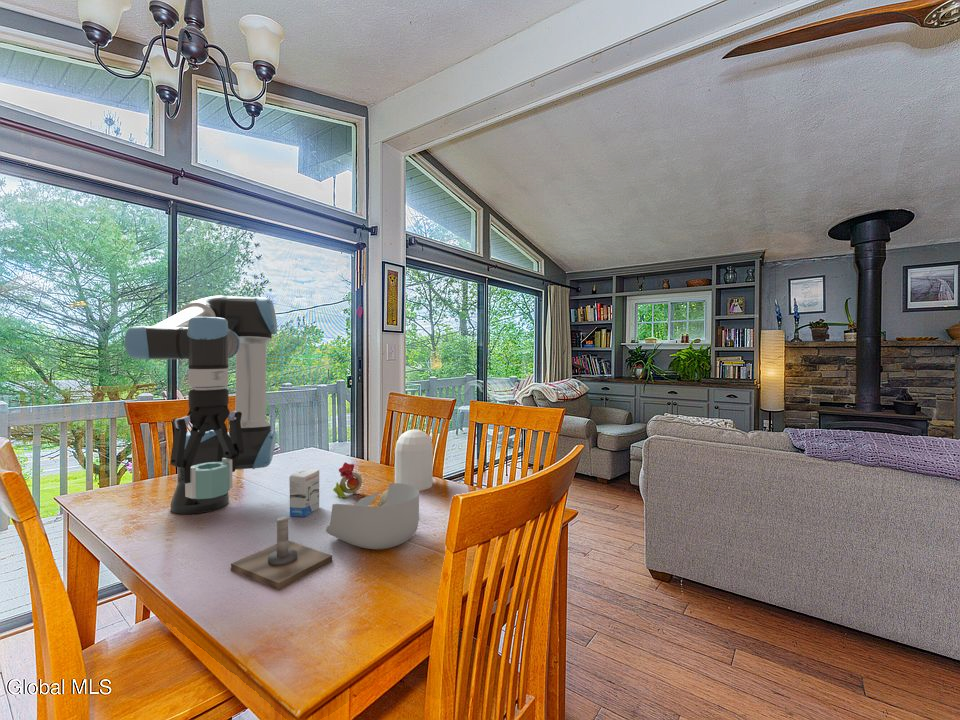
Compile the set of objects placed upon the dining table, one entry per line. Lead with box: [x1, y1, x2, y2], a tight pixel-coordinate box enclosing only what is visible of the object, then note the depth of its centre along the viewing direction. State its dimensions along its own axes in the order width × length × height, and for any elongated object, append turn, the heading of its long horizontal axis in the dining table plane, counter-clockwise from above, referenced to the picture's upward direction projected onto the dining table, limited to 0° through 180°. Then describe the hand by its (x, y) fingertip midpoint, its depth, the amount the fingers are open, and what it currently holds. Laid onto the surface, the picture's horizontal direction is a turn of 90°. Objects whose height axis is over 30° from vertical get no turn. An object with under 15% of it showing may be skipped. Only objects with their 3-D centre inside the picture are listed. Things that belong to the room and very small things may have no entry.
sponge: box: [377, 488, 389, 507], centre depth 134 cm, size 9×10×10 cm
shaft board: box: [230, 517, 333, 591], centre depth 101 cm, size 16×14×10 cm
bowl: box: [325, 482, 420, 550], centre depth 116 cm, size 20×19×12 cm
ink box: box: [288, 468, 320, 518], centre depth 134 cm, size 9×5×12 cm, turn 168°
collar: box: [193, 462, 231, 499], centre depth 99 cm, size 7×7×6 cm
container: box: [394, 428, 434, 492], centre depth 160 cm, size 14×13×20 cm
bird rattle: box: [332, 462, 363, 499], centre depth 149 cm, size 6×11×9 cm
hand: (209, 491), depth 99 cm, fingers closed on collar, 7 cm apart
